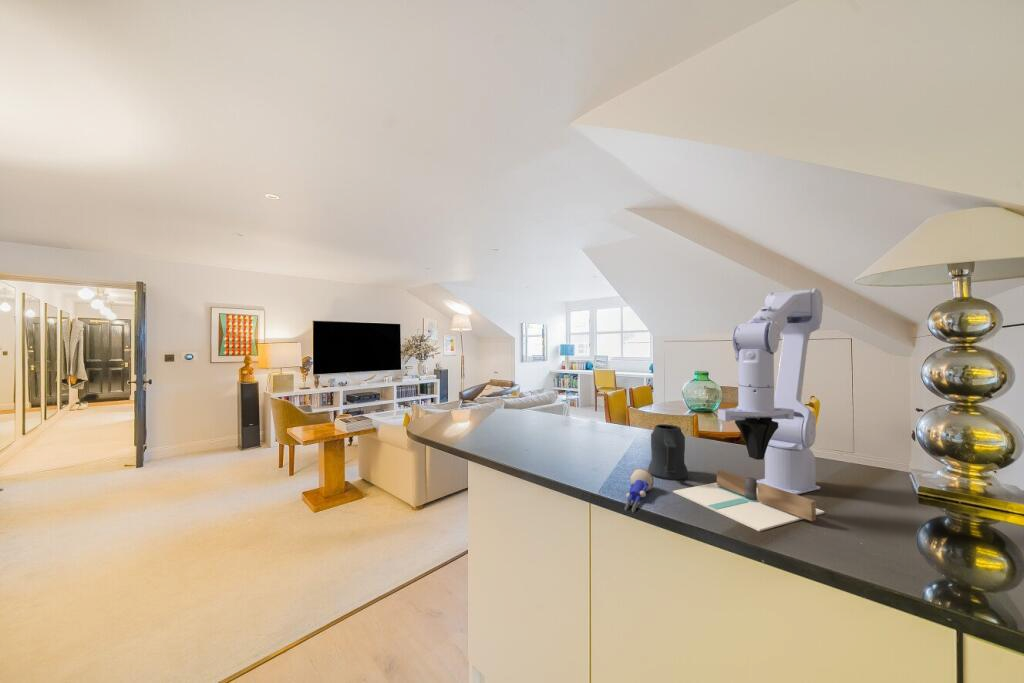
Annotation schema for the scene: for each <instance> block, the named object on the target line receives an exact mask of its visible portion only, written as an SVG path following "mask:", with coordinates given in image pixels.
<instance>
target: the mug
mask: <svg viewBox="0 0 1024 683" xmlns="http://www.w3.org/2000/svg"><path fill="white" fill-rule="evenodd" d="M650 448H651V450H650V451H651V460H650V461H649V464H648V469H647V470H648V471H649V472H650V473H651V474H652V476H653V478H656V479H659V480H665V481H671V482H673V481H676V482H677V481H679V482H680V481H685V480H688V479H689V472H688V467H687V465H686V464H685V450H686V436H685V434H684V433H683V432H682V428H681V427H680V426H678V425H674V424H665V423H664V424H656V425H654V429H653V431H652V432H651V433H650Z"/></svg>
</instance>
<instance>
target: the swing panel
mask: <svg viewBox="0 0 1024 683" xmlns="http://www.w3.org/2000/svg"><path fill="white" fill-rule="evenodd" d="M757 488H758V501H760V502H762V503H765V504H768V505H770V506H773V507H776V508H778V509H781V510H784V511H786V512H789V513H791V514H794V515H797V516H799V517H802V518H805V519H804V520H808V521H811V522H814V521H816V520H817V515H816V509H817V506H816V504H817V502H816V500H814V499H811V498H808V497H805V496H803V495H800V494H797V495H796V494H793V493H790V492H787V491H784V490H781V489H778V488H775V487H772V486H769V485H766V484H763V483H760V484H758V483H757Z"/></svg>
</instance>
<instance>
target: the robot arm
mask: <svg viewBox="0 0 1024 683" xmlns="http://www.w3.org/2000/svg"><path fill="white" fill-rule="evenodd" d="M764 299H765V300H764V306H761V307H760V309H759V310H758V311H757V312H755V314H754V315H753V316H752V317H751V318H750V319H749V321H747V323H746V322H745V323H744V322H743V323H740V324H739V325H738V326H735V327H734V328H733V332H732V337H731V340H732V341H731V342H732V347H733V350H734V358H735V361H736V362H737V387H738V388H737V389H738V390H737V391H738V393H737V394H738V397H737V399H738V400H737V401H738V403H737V406H736V407H730V408H721V409H720V408H717V419H718V421H723V422H732V421H734V423H735V425H736V427H737V428H738V430H739V431H740V435H741V436H742V438H743V441H744V443H745V447H746V450H747V453H748V454H747V455H748V457H749V458H751V459H754V460H755V461H756V460H757V461H761V460H763V461H764V478H761V479H756V480H757V485H758V484H760V483H763V484H766V485H769V486H772V487H775V488H778V489H781V490H784V491H787V492H790V493H793V494H796V495H800V494H804V493H808V492H812V491H813V492H814V491H816V490H821V486H819V485H816V457H815V455H814V453H813V451H812V450H811V449H810V448H811V447H813V446H814V445H815V441H816V435H817V431H816V429H817V427H816V416H815V414H814V412H813V410H812V409H810V408H809V407H808V406H807V405H805V404H803V403H802V402H801V401H802V394H803V386H804V376H805V370H806V361H807V353H808V352H807V351H808V345H809V340H810V336H811V334H812V333H814V332H816V331H818V330H819V329H820V326H821V324H822V318H823V309H824V302H823V301H824V300H823V295H822V292H821V290H820V289H818V288H816V287H814V288H812V289H800V290H792V291H791V290H790V291H780V292H773V291H772V292H769V293H768V294H767V295H766V297H765V298H764ZM781 336H782V341H781ZM780 341H781V349H780V356H779V363H778V372H777V378H776V384H775V353H777V352H778V349H779V345H780Z"/></svg>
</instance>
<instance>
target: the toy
mask: <svg viewBox="0 0 1024 683" xmlns="http://www.w3.org/2000/svg"><path fill="white" fill-rule="evenodd" d="M630 483H631V484H630V488H629V491H628V492H627V493H626V496H625V497H626V498H627V500H626V504H625V505H624V511H625V512H626V511H629V508H630V506H631V505H632V502H633V501H634V503H633V505H632V507H631V512H632V514H634V513H635V512H636V511H637V508H638V505H639V502H640V499H641V498H644V497H646V495H647V494H646V492H648V491H650V490H651V489H652V488H653V486H654V483H655V482H654V477H653V476H652V474H651V473H650V472H649V471H648V469H646V468H637V469H635V470H633V471H632V473H631V474H630Z"/></svg>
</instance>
